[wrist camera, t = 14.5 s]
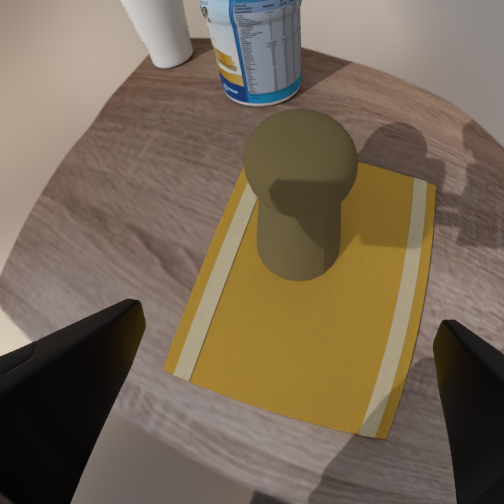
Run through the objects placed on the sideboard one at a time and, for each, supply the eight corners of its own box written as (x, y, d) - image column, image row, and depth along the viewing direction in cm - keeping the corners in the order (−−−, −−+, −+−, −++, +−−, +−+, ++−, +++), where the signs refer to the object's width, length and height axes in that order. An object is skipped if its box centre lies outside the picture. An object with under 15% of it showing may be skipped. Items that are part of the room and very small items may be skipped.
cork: (247, 214, 24) (217, 106, 14) (325, 195, 24) (340, 82, 13) (267, 291, 21) (245, 216, 11) (351, 268, 21) (398, 180, 11)
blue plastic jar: (289, 117, 27) (271, -96, 9) (208, 103, 29) (152, -78, 11) (312, 69, 30) (307, -100, 11) (241, 58, 32) (209, -95, 13)
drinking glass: (206, 59, 33) (176, -47, 19) (153, 81, 32) (109, -22, 18) (192, 39, 35) (164, -52, 21) (145, 58, 35) (107, -31, 21)
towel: (384, 438, 17) (386, 440, 17) (164, 369, 21) (161, 369, 20) (434, 187, 23) (436, 184, 23) (256, 141, 27) (255, 137, 26)
